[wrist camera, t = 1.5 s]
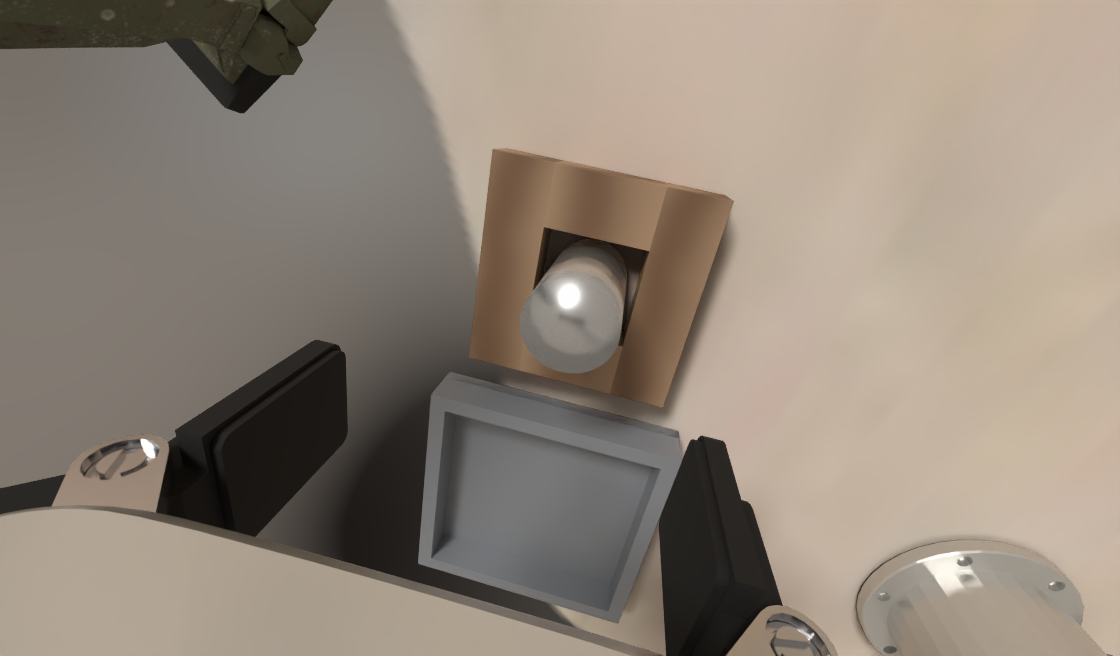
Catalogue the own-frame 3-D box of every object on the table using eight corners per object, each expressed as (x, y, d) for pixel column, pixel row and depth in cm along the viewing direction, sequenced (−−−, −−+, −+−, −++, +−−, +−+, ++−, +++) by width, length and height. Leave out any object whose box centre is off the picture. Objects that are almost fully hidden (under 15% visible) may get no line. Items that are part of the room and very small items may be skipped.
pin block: (725, 195, 23) (733, 201, 21) (661, 386, 28) (662, 407, 26) (506, 148, 24) (492, 149, 22) (482, 340, 29) (468, 357, 27)
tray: (678, 431, 29) (681, 461, 27) (620, 586, 36) (618, 623, 33) (450, 371, 31) (431, 394, 28) (434, 532, 37) (418, 563, 35)
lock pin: (635, 248, 25) (632, 293, 18) (617, 318, 27) (607, 383, 20) (561, 231, 26) (528, 268, 18) (547, 301, 27) (513, 359, 20)
